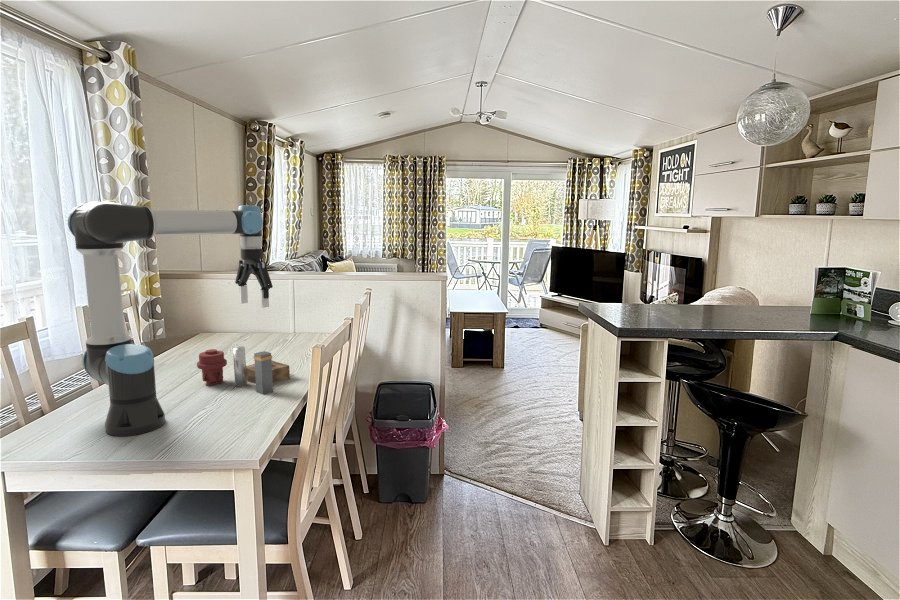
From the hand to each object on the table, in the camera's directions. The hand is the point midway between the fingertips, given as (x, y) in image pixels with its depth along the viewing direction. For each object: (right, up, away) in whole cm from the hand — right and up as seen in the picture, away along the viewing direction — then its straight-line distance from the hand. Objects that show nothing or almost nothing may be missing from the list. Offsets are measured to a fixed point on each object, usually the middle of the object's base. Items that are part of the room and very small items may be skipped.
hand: (254, 305), depth 198 cm
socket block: (+4, -28, +3) cm, 28 cm away
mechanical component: (-14, -29, -3) cm, 32 cm away
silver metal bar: (-3, -29, -5) cm, 30 cm away
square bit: (+8, -30, -12) cm, 33 cm away
